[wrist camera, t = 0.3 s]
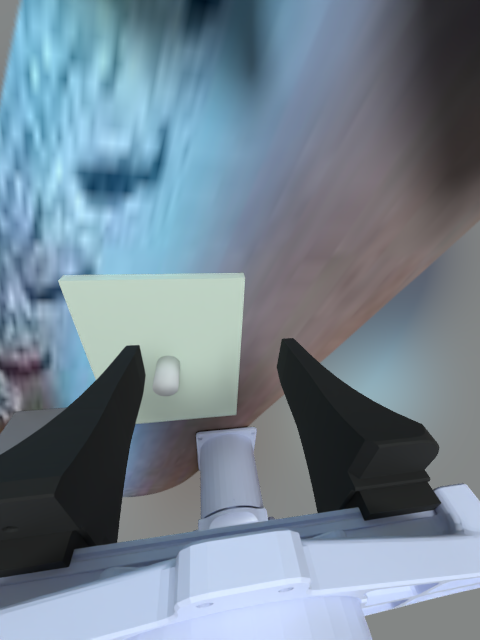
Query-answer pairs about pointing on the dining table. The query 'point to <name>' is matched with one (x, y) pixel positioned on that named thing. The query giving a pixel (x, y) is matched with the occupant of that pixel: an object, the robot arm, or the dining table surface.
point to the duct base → (166, 336)
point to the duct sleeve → (25, 426)
